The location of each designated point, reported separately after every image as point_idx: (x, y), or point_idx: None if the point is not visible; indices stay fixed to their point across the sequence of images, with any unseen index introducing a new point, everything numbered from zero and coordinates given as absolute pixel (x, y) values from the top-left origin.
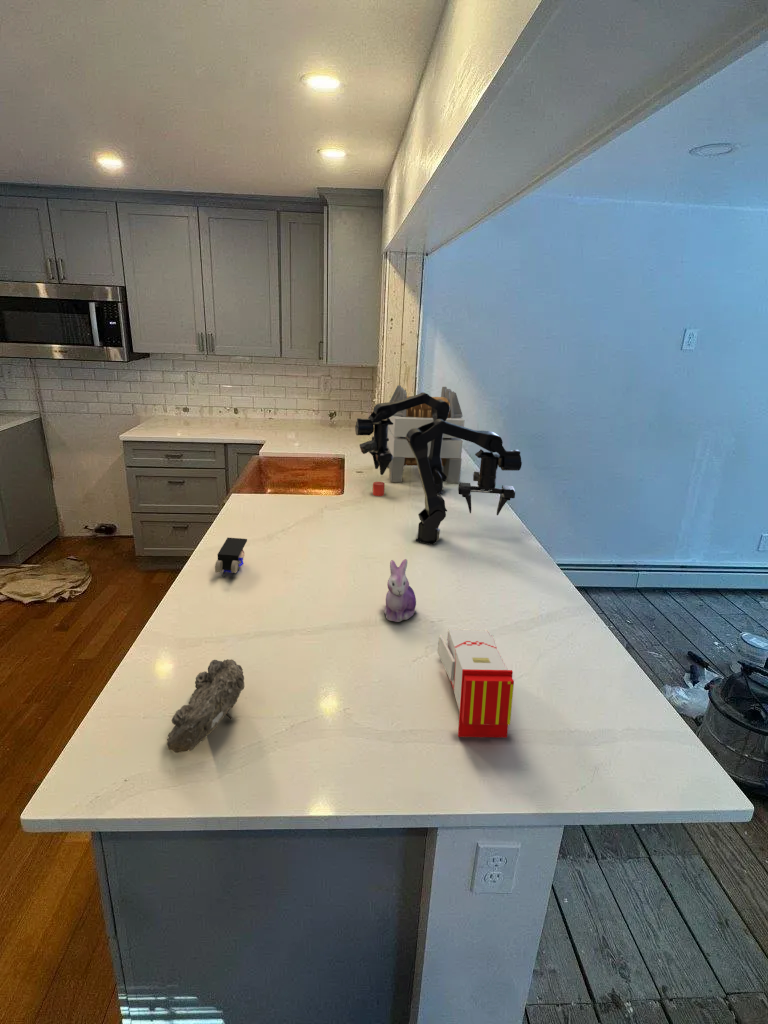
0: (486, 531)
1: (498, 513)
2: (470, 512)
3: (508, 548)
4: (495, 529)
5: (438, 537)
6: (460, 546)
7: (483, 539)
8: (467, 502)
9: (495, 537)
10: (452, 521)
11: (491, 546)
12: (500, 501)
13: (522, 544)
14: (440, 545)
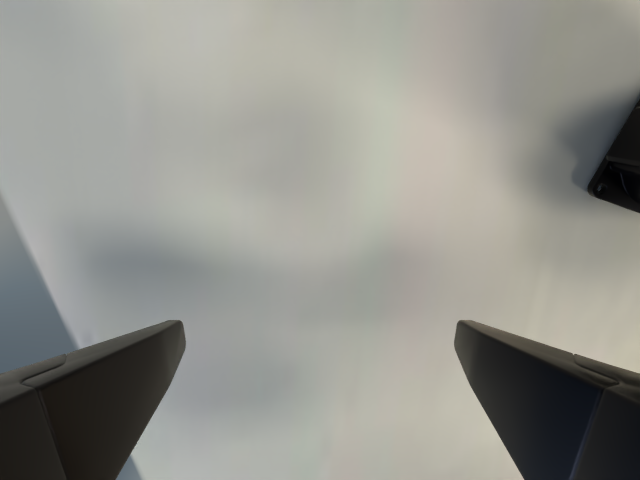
0: (281, 356)
1: (155, 326)
2: (469, 321)
3: (148, 128)
4: (232, 389)
5: (630, 142)
6: (463, 97)
7: (303, 243)
8: (638, 373)
9: (232, 286)
10: (451, 444)
11: (257, 140)
12: (26, 442)
13: (68, 213)
14: (599, 86)
